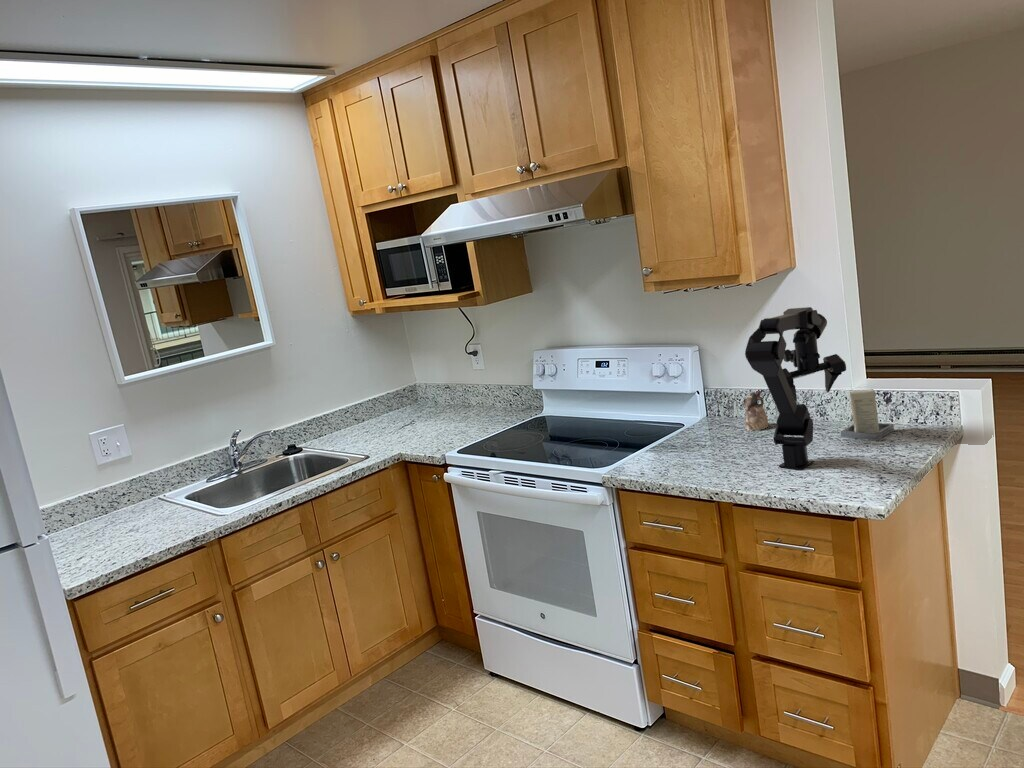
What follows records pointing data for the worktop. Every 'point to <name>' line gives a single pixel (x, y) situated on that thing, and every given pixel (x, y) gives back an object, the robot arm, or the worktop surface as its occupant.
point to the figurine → (755, 412)
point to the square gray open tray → (883, 431)
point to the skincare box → (864, 411)
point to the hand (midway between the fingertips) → (811, 396)
